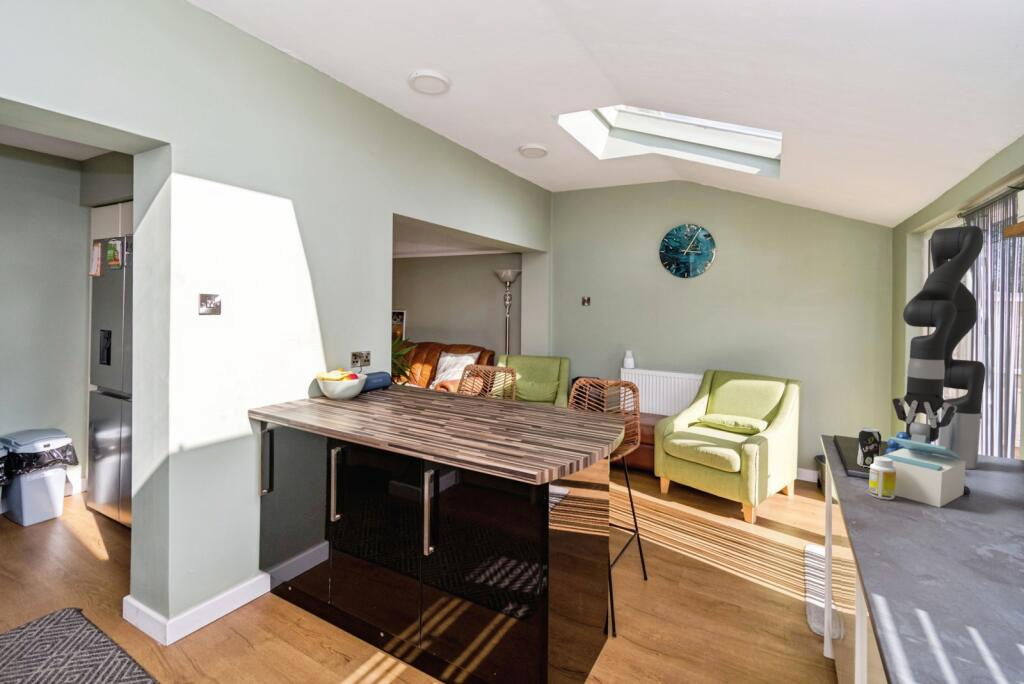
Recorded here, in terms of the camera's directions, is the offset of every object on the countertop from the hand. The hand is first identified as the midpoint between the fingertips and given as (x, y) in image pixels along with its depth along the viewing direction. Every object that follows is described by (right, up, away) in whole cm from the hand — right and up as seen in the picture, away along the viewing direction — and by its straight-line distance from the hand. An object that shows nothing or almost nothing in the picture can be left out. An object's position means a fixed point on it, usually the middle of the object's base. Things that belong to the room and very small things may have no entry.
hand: (921, 438), depth 132 cm
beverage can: (+1, -13, +22) cm, 26 cm away
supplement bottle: (-12, -15, -2) cm, 19 cm away
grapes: (+14, -13, +21) cm, 29 cm away
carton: (0, -15, +1) cm, 15 cm away
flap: (+2, -3, +1) cm, 4 cm away
